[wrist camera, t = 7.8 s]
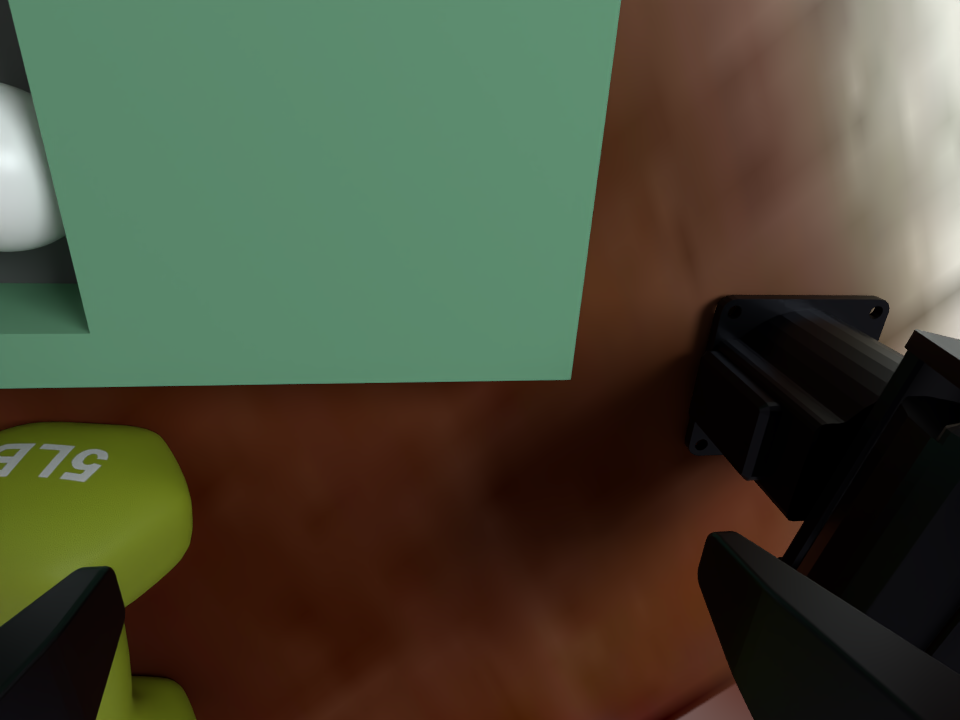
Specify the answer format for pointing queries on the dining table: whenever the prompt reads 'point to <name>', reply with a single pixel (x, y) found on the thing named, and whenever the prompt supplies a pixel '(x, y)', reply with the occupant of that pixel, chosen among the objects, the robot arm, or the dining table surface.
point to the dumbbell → (94, 531)
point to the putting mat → (306, 189)
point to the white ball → (25, 177)
